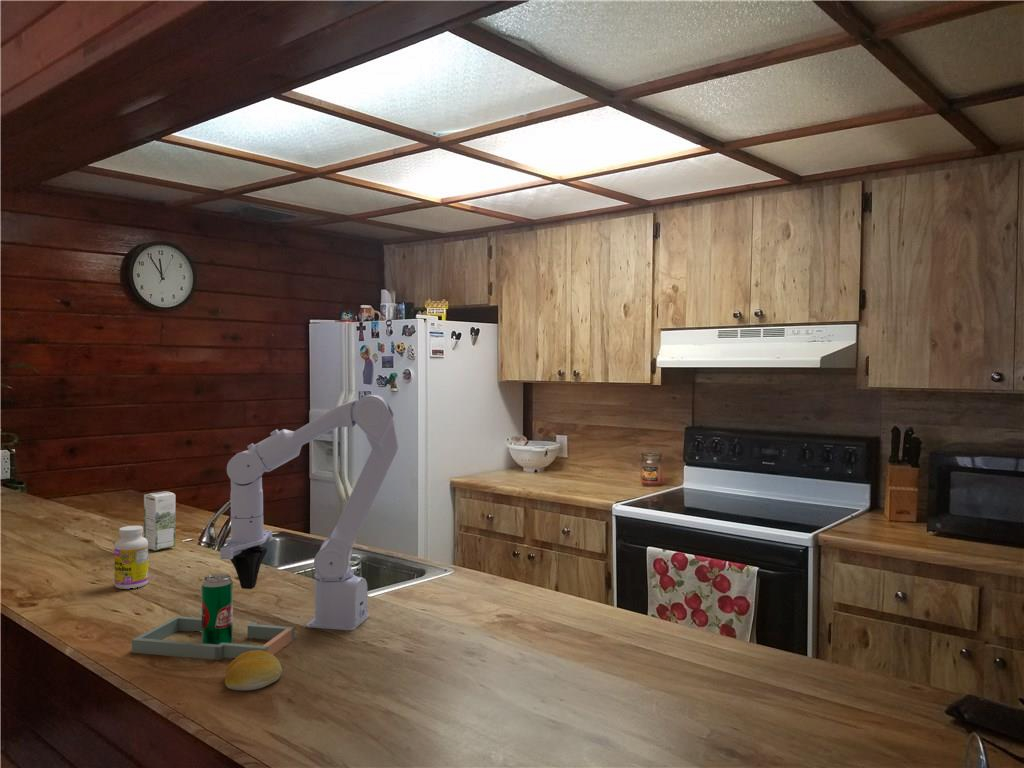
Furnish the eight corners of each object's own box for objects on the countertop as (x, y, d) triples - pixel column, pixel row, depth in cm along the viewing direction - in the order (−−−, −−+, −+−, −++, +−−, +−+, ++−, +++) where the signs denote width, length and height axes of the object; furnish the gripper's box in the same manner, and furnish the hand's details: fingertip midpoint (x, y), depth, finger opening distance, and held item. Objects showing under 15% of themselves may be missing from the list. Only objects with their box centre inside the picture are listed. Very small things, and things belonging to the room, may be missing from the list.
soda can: (220, 652, 126) (219, 582, 126) (195, 649, 128) (194, 580, 127) (239, 641, 131) (238, 574, 131) (214, 638, 133) (214, 572, 132)
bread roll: (224, 696, 109) (223, 669, 109) (226, 674, 117) (225, 649, 117) (283, 687, 112) (281, 660, 111) (281, 666, 120) (280, 641, 120)
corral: (297, 639, 133) (296, 625, 132) (261, 666, 121) (261, 650, 121) (177, 629, 137) (177, 615, 137) (132, 654, 125) (131, 639, 125)
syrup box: (164, 543, 202) (163, 490, 201) (176, 546, 198) (175, 492, 198) (143, 547, 197) (143, 493, 197) (155, 551, 194) (154, 495, 193)
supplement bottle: (107, 587, 162) (106, 529, 162) (133, 579, 168) (132, 523, 168) (130, 591, 160) (129, 532, 159) (155, 583, 166) (154, 525, 166)
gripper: (248, 507, 146) (249, 575, 147) (204, 523, 132) (205, 598, 132) (281, 508, 145) (282, 577, 145) (240, 524, 130) (241, 601, 131)
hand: (248, 587), depth 139 cm, fingers closed
